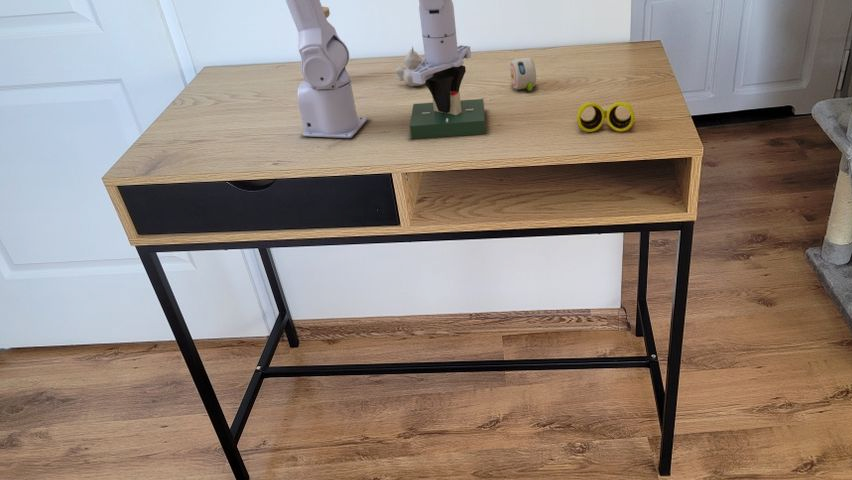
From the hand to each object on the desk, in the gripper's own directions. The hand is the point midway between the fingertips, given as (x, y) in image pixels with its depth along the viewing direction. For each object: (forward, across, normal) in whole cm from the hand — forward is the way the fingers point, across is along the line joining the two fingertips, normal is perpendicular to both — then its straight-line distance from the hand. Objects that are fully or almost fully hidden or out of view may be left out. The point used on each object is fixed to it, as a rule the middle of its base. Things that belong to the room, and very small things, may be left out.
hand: (447, 109), depth 133 cm
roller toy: (+3, +21, -3) cm, 21 cm away
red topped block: (0, 0, 0) cm, 0 cm away
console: (+3, 0, 0) cm, 3 cm away
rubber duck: (+3, +13, +18) cm, 23 cm away
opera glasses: (+3, +11, -26) cm, 28 cm away
